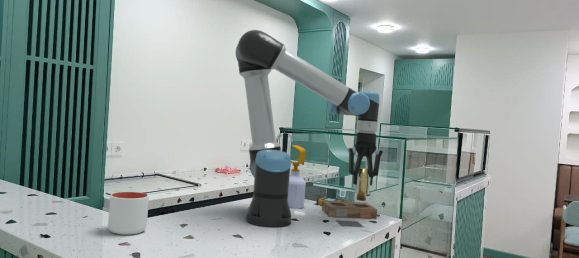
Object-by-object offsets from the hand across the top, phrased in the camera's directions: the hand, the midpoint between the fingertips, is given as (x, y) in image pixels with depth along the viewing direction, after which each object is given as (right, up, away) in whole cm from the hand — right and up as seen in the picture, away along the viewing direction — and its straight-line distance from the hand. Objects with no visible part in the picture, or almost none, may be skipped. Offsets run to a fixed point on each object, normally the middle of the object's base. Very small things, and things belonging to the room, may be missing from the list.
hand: (361, 193), depth 157 cm
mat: (-7, -8, -16) cm, 19 cm away
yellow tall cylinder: (0, -3, 0) cm, 2 cm away
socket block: (-5, -8, 0) cm, 10 cm away
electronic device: (-8, -9, +14) cm, 18 cm away
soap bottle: (-26, -7, +8) cm, 28 cm away
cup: (-73, -4, -43) cm, 85 cm away
